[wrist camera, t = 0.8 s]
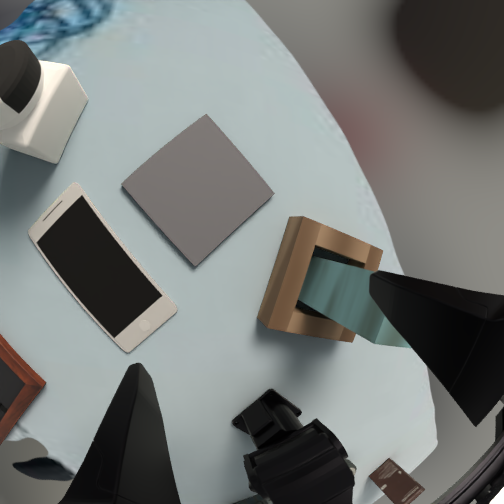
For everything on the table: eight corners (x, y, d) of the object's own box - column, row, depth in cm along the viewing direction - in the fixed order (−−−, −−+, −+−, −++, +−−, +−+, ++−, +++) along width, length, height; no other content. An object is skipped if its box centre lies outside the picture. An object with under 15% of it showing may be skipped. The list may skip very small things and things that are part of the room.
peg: (339, 265, 30) (431, 291, 17) (326, 304, 30) (411, 348, 18) (305, 254, 28) (397, 277, 16) (292, 296, 28) (374, 343, 16)
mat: (272, 193, 27) (274, 193, 26) (194, 265, 25) (195, 266, 25) (205, 115, 24) (206, 113, 23) (122, 184, 23) (121, 183, 22)
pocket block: (366, 247, 31) (383, 250, 28) (337, 333, 31) (352, 342, 28) (289, 216, 27) (303, 216, 25) (257, 317, 28) (267, 327, 25)
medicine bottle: (40, 86, 18) (-8, 29, 7) (90, 98, 20) (52, 30, 9) (9, 148, 18) (-58, 117, 7) (58, 165, 20) (-8, 131, 9)
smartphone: (128, 350, 25) (127, 354, 24) (30, 231, 20) (26, 232, 20) (178, 306, 26) (179, 309, 25) (78, 181, 22) (75, 180, 21)
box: (388, 457, 40) (422, 487, 29) (393, 460, 41) (426, 489, 30) (366, 476, 39) (398, 508, 28) (373, 479, 40) (403, 509, 29)
